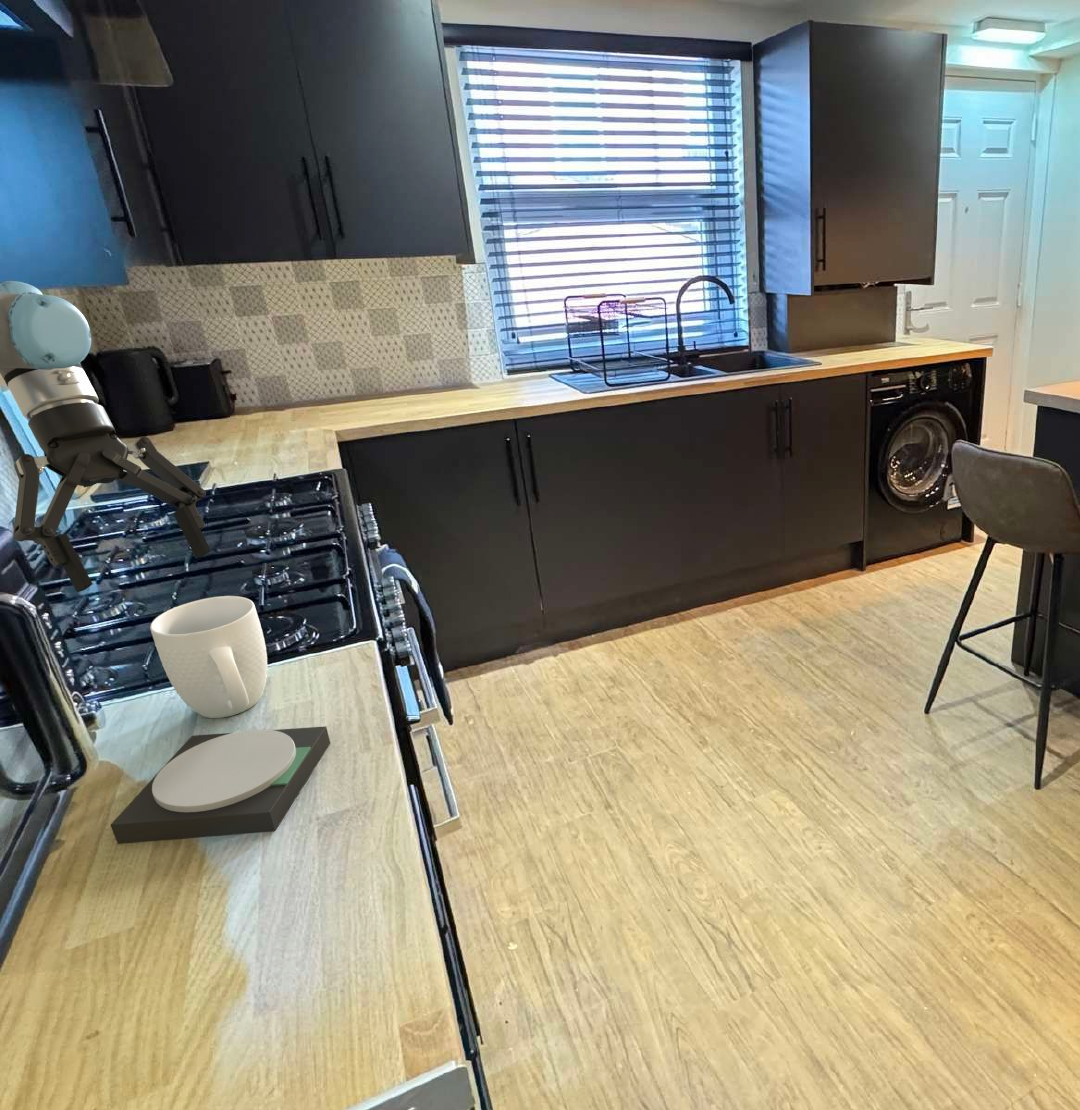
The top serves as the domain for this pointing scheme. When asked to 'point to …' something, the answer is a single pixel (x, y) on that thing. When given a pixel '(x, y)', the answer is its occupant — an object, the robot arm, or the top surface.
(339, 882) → the top surface
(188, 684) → the mug
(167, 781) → the scale
